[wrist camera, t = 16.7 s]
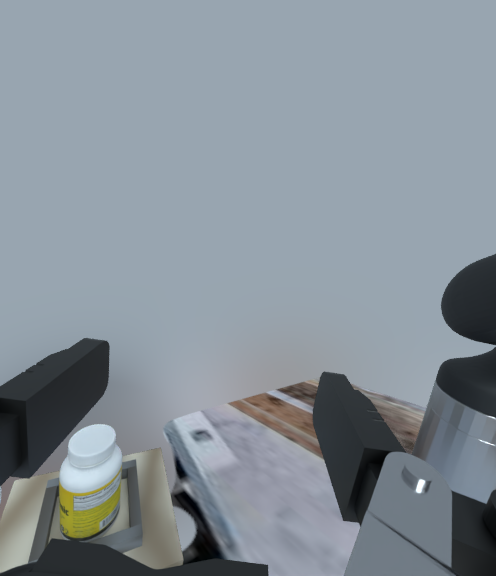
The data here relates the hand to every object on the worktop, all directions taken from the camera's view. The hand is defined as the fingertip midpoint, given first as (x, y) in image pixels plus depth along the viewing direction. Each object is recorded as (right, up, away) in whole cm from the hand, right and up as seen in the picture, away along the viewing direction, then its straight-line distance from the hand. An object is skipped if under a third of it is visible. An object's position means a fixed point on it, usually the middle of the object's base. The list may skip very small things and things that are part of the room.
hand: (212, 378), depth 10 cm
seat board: (-15, -22, +18) cm, 32 cm away
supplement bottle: (-15, -21, +18) cm, 31 cm away
